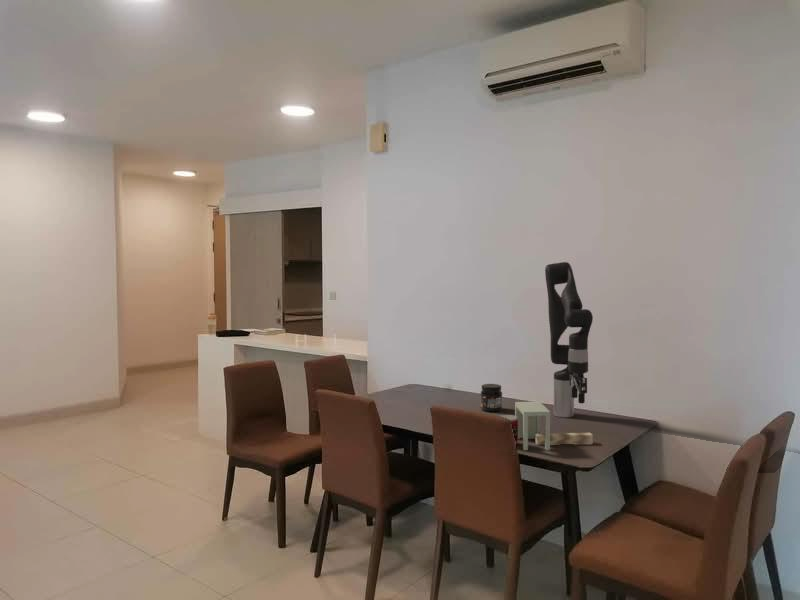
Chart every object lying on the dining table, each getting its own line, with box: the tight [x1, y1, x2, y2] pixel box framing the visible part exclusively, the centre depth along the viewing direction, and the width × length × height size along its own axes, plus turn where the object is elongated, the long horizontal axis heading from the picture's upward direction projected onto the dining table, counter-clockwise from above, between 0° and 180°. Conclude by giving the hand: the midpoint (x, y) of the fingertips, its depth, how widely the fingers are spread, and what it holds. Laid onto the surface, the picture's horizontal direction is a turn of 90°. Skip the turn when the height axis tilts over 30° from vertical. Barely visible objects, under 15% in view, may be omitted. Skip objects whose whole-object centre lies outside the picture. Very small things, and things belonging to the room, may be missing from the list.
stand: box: [514, 401, 551, 452], centre depth 229 cm, size 16×10×15 cm, turn 1°
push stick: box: [534, 432, 594, 446], centre depth 230 cm, size 22×3×4 cm, turn 91°
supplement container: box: [480, 383, 503, 413], centre depth 283 cm, size 10×10×12 cm
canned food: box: [499, 414, 519, 445], centre depth 229 cm, size 8×8×11 cm
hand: (577, 400), depth 229 cm, fingers open, 8 cm apart
